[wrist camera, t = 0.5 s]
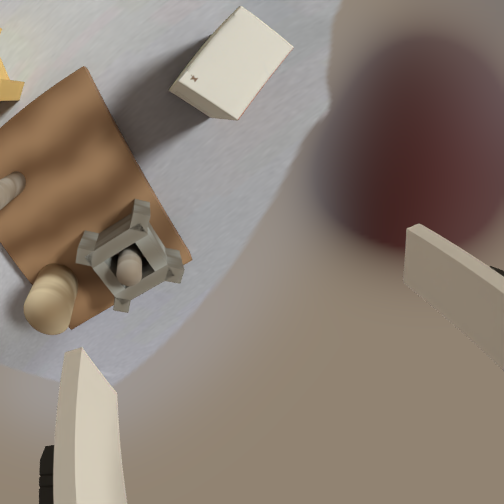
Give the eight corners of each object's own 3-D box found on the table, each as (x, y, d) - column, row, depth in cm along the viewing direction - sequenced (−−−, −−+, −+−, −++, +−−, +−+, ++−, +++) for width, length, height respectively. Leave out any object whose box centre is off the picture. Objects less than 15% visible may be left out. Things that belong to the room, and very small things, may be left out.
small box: (210, 118, 31) (237, 124, 22) (166, 90, 29) (175, 82, 20) (254, 61, 30) (297, 47, 21) (213, 31, 27) (241, 3, 18)
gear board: (-35, 166, 23) (-71, 184, 17) (87, 68, 25) (69, 57, 18) (73, 320, 36) (64, 363, 29) (189, 252, 37) (201, 288, 30)
